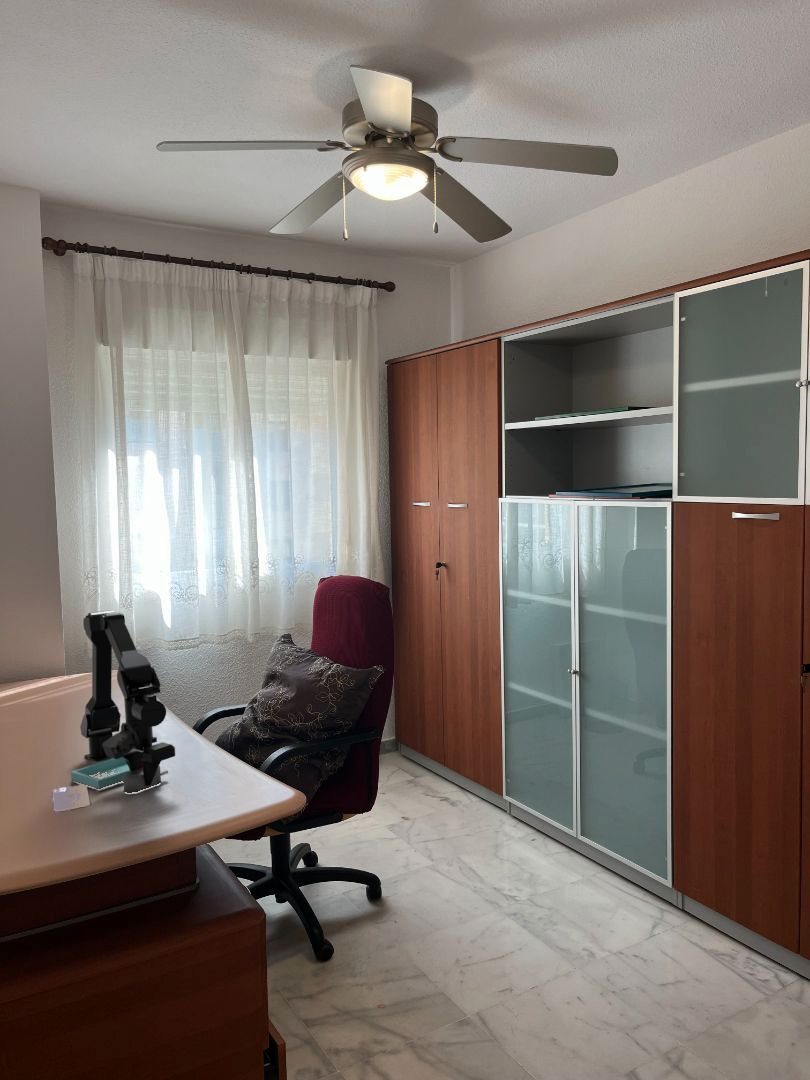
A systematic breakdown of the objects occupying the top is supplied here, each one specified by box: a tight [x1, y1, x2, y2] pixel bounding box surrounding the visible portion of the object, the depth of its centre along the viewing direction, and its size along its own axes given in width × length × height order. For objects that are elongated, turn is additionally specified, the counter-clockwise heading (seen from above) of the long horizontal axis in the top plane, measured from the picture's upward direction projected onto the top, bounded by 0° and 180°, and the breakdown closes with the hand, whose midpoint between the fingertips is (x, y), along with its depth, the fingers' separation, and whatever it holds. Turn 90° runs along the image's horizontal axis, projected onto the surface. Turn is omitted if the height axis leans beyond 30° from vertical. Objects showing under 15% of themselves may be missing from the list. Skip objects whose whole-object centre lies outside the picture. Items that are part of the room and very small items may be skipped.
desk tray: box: [70, 758, 143, 789], centre depth 191 cm, size 12×16×2 cm
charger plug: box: [123, 765, 169, 793], centre depth 183 cm, size 11×4×4 cm, turn 143°
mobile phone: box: [52, 784, 85, 811], centre depth 178 cm, size 8×1×15 cm
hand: (142, 783), depth 182 cm, fingers closed on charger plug, 4 cm apart
